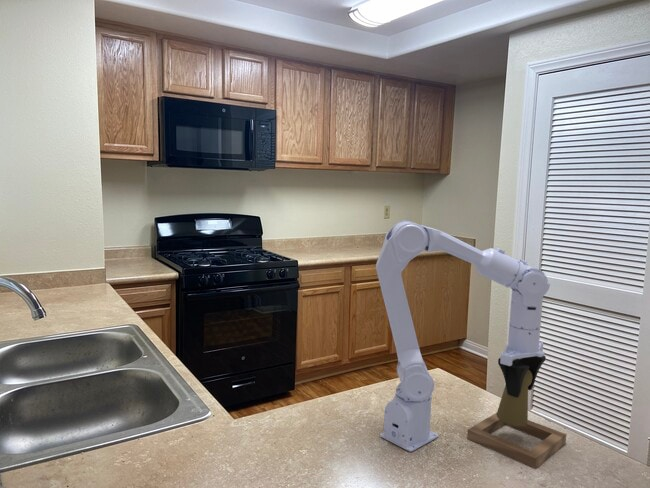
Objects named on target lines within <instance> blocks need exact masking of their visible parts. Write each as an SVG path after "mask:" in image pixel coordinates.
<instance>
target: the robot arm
mask: <svg viewBox="0 0 650 488" xmlns="http://www.w3.org/2000/svg"><path fill="white" fill-rule="evenodd" d="M424 250H425V251H426V252H428V253H430V252H437V251H442V252H444V253H446V254H449V255H451V256H452V257H453V256H454V257H456V258H458V259H460V260H463V261H465V262H468V263H470V264H471V265H472V264H473V265H474V266H475V268H476V272H477V273H478V275H480V276H481V277H484V278H487V279H488V280H490V281H493V282H494V283H497V284H499V285H501V286H503V287H506V288H510V289H511V300H510V310H509V311H510V312H509V326H508V336H507V338H508V339H507V344H506V346H505V348H504V351H502V352H501V353H500V357H499V358H498V360H497V362H498V363H497V364H498V365H499V367H500V370H501V372H502V374H503V378H504V383H505V385H506V389H507V394H508V395H510V396H513V397H516V398H518V397H519V395H520V393H521V388H522V383H523V379H524V376H525V374H526V372H527V370H530V372H531V373H532V382H531V384H530V385H529V386H528V391H532V389H533V387H534V385H535V382H536V379H537V376H538V373H539V371H540V369H541V367H542V366H543V363H544V362H545V361H546V357H547V356H545V354H546V353H545V351H544V342H543V341H540V336H541V328H542V327H541V325H542V313H543V298H544V296H545V295H546V294H547V293H548V292H549V289H550V286H551V284H550V283H549V280H548V277H547V275H546V273H545V272H544V271H542V270H541V269H540V268H539V269H538V268H535V267H533V266H530V265H528V262H527V261H526V260H524V259H519V260H518V259H517V258H514V257H512V256H510V255H508V254H505V253H506V250H504V249H502V248H500V247H497V248H496V249H495V248H492V247H490V248H486V249H484V250H480V249H479V248H477V247H475V246H472V245H470V244H469V243H466V242H465V241H462V240H460V239H458V238H456V237H454V236H452V235H450V234H448V233H447V232H444V231H442V230H439V229H436V228H433V227H429V226H425V225H423V224H418V223H416V222H413V221H411V220H405V219H404V220H399V221H398V222H396V223H395V224H394V225H393V226H392V227H391V228H390V229H389V231H388V232H387V233H386V234H385V236H384V240H383V244H382V247H381V250H380V252H379V255H378V258H377V260H376V264H375V270H376V275H377V279H378V283H379V286H380V290H381V295H382V298H383V301H384V305H385V310H386V315H387V317H388V318H387V319H388V321H389V326H390V329H391V334H392V338H393V343H394V345H395V349H396V355H397V364H396V365H397V366H396V373H397V376H398V379H399V383H398V385H397V387H396V388H395V394H394V396H393V398H392V399H391V400H390V401H388V403H387V404H386V405H385V407H384V412H383V413H384V414H383V415H384V417H383V432H381V433H379V435H380V437H381V438H382V439H384V440H387V442H391V443H392V444H394V445H396V446H398V447H400V448H402V449H404V450H406V451H407V452H414V451H415V450H417V449H419V448H421V447H423V446H424V445H426V444H428V443H430V442H432V441H433V440H435V439H437V438H438V437H439V434H438V433H437V432H434V431H432V430H431V416H432V415H431V414H432V398H433V392H434V390H435V381H434V379H433V377H432V375H431V374H430V372H429V370H428V368H427V365H426V363H425V361H424V359H423V357H422V353H421V349H420V345H419V342H418V338H417V332H416V330H415V326H414V322H413V317H412V314H411V309H410V306H409V302H408V301H409V300H408V297H407V293H406V290H405V286H404V280H403V277H402V272H404V270H405V268H406V267H407V265H408V264H409V263H410V261H411V260H413V259H414V258H416V257H417V256H419V255H420V254H422V252H424Z"/></svg>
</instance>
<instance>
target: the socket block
mask: <svg viewBox="0 0 650 488" xmlns="http://www.w3.org/2000/svg"><path fill="white" fill-rule="evenodd" d="M496 414H497V412H495V413H494V414H492V415H490V416H489V417H487V418H485V419H483V420H482V421H479V422H478V423H476V424H475V425H473V426H471V427H469V428H468V429H467V436H466V439H467V440H469V441H471V442H473V443H476V444H478V445H480V446H483V447H484V448H488V449H490V450H492V451H494V452H497V453H498V454H501V455H503V456H506V457H508V458H510V459H512V460H515V461H517V462H520V463H521V464H524V465H526V466H528V467H531V468H532V469H537V468H538V467H539V466H541V465H542V464H543V463H544V462H546V461H547V460H548V459H549V458H551V456H553V455H554V454H555V453H557V452H558V450H560V449H561V448H562V447H564V445H566V443H567V433H565V432H561V431H558V430H556V429H554V428H550V427H548V426H545V425H543V424H540V423H537V422H534V421H532V420H529V419H528V422H527V424H526V425H525V426H513V425H509V424H506V423H504V422H502V421H501V420H499V418H498V417H497V415H496ZM503 426H507V427H509V428H512V429H515V430H518V431H519V432H523V433H525V434H528V435H529V436H533V437H536V438H538V439H539V440H540V439H541V440H542V441H541V442H539V443H538V444H536V445H535V446H534V447H532V448H531V449H529V448H526V447H523V446H521V445H519V444H516V443H514V442H511V441H509V440H506V439H504V438H501V437H500V436H497V435H494V434H493V433H495V431H497V430H498V429H501V427H503Z"/></svg>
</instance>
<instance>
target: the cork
mask: <svg viewBox="0 0 650 488" xmlns="http://www.w3.org/2000/svg"><path fill="white" fill-rule="evenodd" d="M531 382H532V373H531V372H530V370H527V372H526V374H525V376H524V379H523V383H522V388H521V393H520V395H519V397H518V398H516V397H513V396H510V395H508V394H507V389H506V384H505V386H504V389H503V391H502V396H501V399H500V400H499V401H500V402H499V404H498V408H497V411H496V413H497V414H496V415H497V417H498V418H499V420H501V421H502V422H504V423H506V424H509V425H513V426H525V425H526V424H527V422H528V420H529V417H528V415H529V414H528V413H529V412H528V411H529V410H528V409H529V405H528V404H529V390H528V386H529V385H530V384H531Z"/></svg>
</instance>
